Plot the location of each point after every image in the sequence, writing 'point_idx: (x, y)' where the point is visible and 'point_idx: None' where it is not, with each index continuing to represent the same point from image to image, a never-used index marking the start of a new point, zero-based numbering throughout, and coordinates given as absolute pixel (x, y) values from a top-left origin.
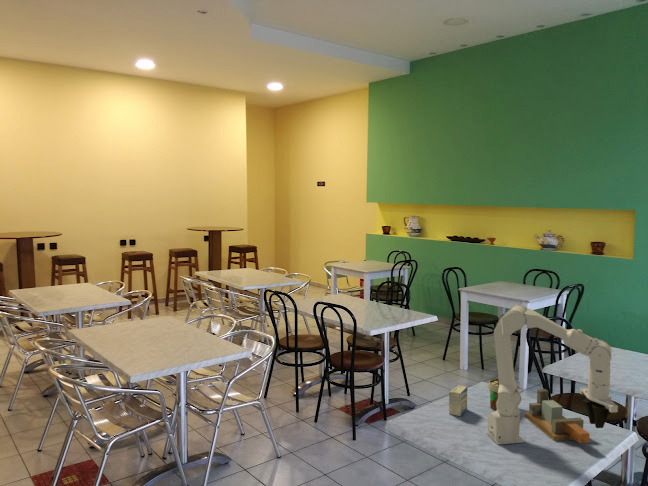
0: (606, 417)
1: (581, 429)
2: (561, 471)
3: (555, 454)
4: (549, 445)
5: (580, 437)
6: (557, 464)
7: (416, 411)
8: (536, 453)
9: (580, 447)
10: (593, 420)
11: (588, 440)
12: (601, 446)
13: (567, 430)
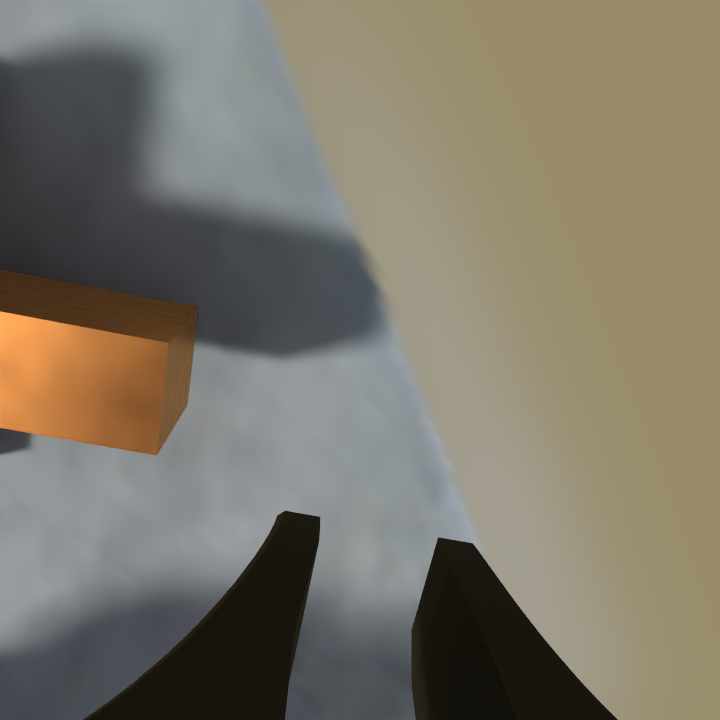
0: (584, 706)
1: (39, 348)
2: None
3: (207, 601)
4: (59, 545)
5: (165, 433)
6: (339, 681)
7: None
8: None
9: None
10: (299, 628)
11: (191, 323)
12: (193, 92)
13: None
